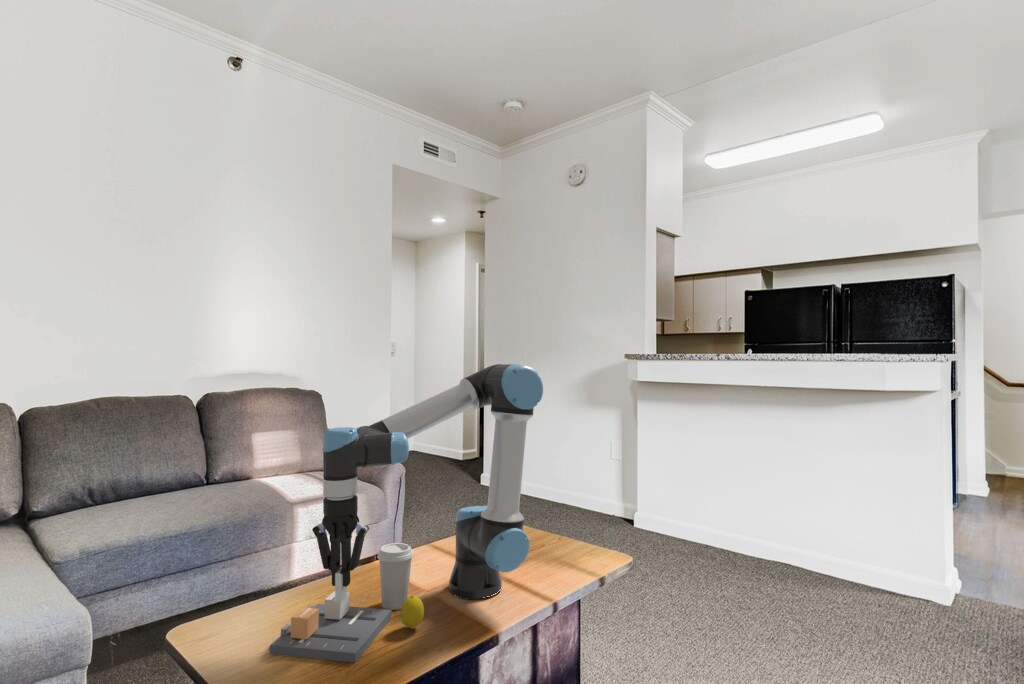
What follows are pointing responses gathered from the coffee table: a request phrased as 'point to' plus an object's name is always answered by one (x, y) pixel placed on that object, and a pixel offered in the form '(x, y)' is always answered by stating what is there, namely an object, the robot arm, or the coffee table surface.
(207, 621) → the coffee table surface
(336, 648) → the console
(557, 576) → the coffee table surface
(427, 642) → the coffee table surface
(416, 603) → the lemon
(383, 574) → the coffee cup
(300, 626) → the fader orange
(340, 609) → the fader grey
